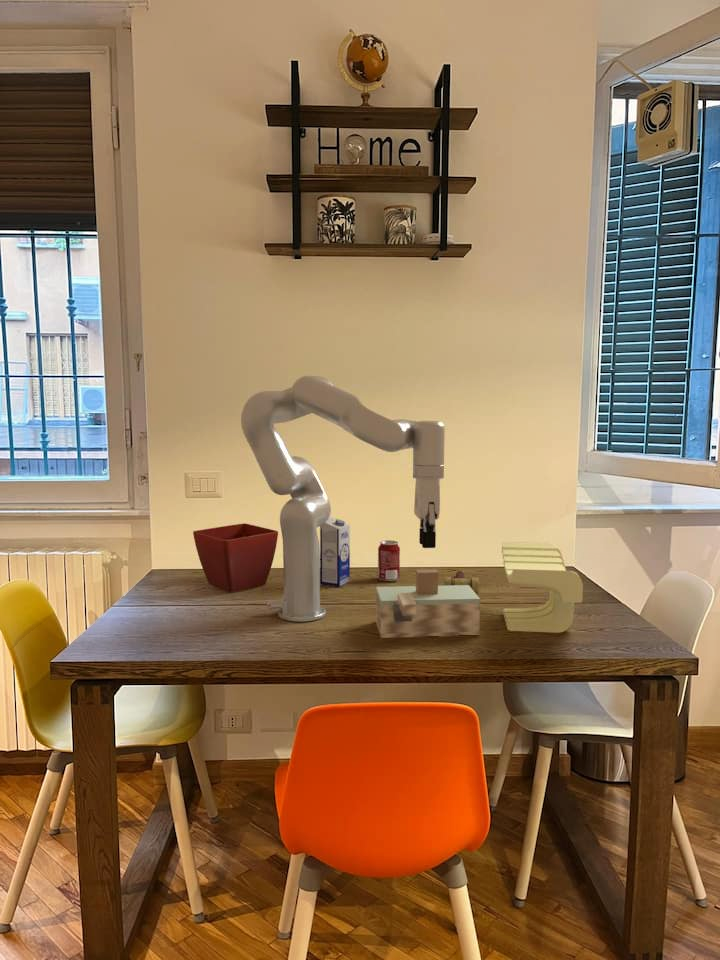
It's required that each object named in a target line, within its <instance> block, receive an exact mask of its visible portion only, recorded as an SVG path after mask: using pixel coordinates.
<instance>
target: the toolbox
mask: <svg viewBox="0 0 720 960" xmlns="http://www.w3.org/2000/svg"><path fill="white" fill-rule="evenodd" d="M375 600H376V602H375V603H376V605H375V606H376V607H375V622H376V626H377V629H378V632H379V635H380V638H381V639H388V638H389V639H392V638H393V639H394V638H428V637H427V636H439V637H459V636H458V635H479V636H480V625H481V624H480V619H481V618H480V617H481V615H480V614H481V603H480V604H437V605H416V615H408V616H403V615H402V612H401V610H400V608H399V605H398V600H397V601H394V605H391V606H381V604H380V601H379V598H378V595H377V592H376V591H375ZM453 635H454V636H453ZM425 636H426V637H425Z"/></svg>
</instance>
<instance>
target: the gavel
mask: <svg viewBox="0 0 720 960" xmlns="http://www.w3.org/2000/svg"><path fill="white" fill-rule="evenodd" d="M450 585H469V586H470V587H471V588H472V590H473V591H474V592H475V593H476V594H478V593H479V589H480V588H479V586H480V585H479V578H478V577H471V579H470V578H466V577H465V574H464V572H463V571H462V570H459V571H457V572H456V573H455V578H452V576H444V579H443V586H450Z"/></svg>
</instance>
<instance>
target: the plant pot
mask: <svg viewBox="0 0 720 960" xmlns="http://www.w3.org/2000/svg"><path fill="white" fill-rule="evenodd" d="M192 534H193V539H194V540H193V541H194V543H195V548H196V551H197V555H198V559H199V562H200V565H201V568H202V571H203V572H204V575H205V578H206V580H207V583H208V585H209V584H210V585H209V586H211V585H212V587H214V588H217V589H219V590H222V591H225V592H228V593H235V592H240V591H244V590H249V589H253V588H257V587H258V588H259V587H262V586H265V585H266V583H267V580H268V579H269V575H270V572H271V568H272V565H273V563H274V559H275V553H276V549H277V543H278V537H279V530H275V529H270V528H268V527H267V528H266V527H262V526H257V525H254V524H250V523H238V524H237V523H236V524H230V525H229V524H228V525H224V526H216V527H212V528H203V529H199V530H194V531H192Z"/></svg>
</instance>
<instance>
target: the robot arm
mask: <svg viewBox="0 0 720 960" xmlns="http://www.w3.org/2000/svg"><path fill="white" fill-rule="evenodd" d="M310 414H314V415H315V416H317V417H320V418H322V419H324V420H326V421H328V422H331V423H333V424H334V425H337V426H339V427H340V428H342V429H343V430H345V432H347V433H349V434H350V435H352V436H354V437H355V438H356V439H358V440H360V441H362V442H365V443H367V444H368V445H371V446H373V447H375V448H377V449H379V450H382V451H384V452H388V453H396V452H400V451H403V450H408V449H412V455H413V456H412V479H415V487H414V488H415V489H414V506H413V507H414V508H413V514H414V515H415V516H416V517H417V518H418V519H419V541H418V543H419V544H420V545H421V546H422V548H423V549H435V548H436V544H437V543H436V537H437V535H436V533H437V530H436V520H439V519H440V510H441V491H440V489H441V487H440V486H441V483H440V482H441V481H440V480H442V479H444V478H445V435H446V434H445V432H446V431H445V428H446V427H445V424H444V422H441V421H440V420H439V421H437V420H418V421H417V420H409V419H390V418H387V417H385V416H383V415H382V414H379V413H377V412H375V411H373V410H371V409H369V408H368V407H366V406H365V405H363V403H362V402H361V401H360V398H358V396H356V395H355V394H352V393H350V392H347V391H346V390H344V389H341V388H339V387H337V386H335V385H334V384H333V383H332V381H330V380H329V379H328V378H326V377H323V376H320V375H318V376H317V375H304V376H301V377H300V378H298V379H297V380H295V381H294V383H293V384H292V387H289V388H286V389H282V390H263V391H260V392H256V393H254V394H253V395H251V397H249V398H248V400H247V401H246V402H245V404H244V405H243V408H242V411H241V415H240V423H241V424H240V426H241V429H242V433H243V435H244V439H245V440H246V442H247V443H248V445H249V447H250V449H251V451H252V453H253V455H254V457H255V459H256V462H257V464H258V466H259V468H260V471H261V472H262V474H263V477H264V479H265V481H266V483H267V484H268V487H269V488H270V491H272V492H273V494H276V495H278V496H287V495H290V497H291V498H290V499H289V500H288V501H287V502H285V504H283V506H282V508H281V510H280V513H279V524H280V530H281V539H282V553H283V555H282V557H283V558H282V559H283V595H282V598H278V599H266V607H267V608H270V609H271V610H272V609H273V610H274V609H275V610H276V609H278V611H277V615H278V617H279V619H283V620H284V621H288V622H289V621H290V622H296V623H297V622H313V621H317V620H320V619H322V618H324V617H325V616H326V615H327V611H326V608H325V607H324V606H322V605H321V585H320V539H319V535H318V529H317V528H318V527H319V528H320V526H321V525H322V524H324V523H325V522H326V521H327V520H328V518H330V516H331V513H332V512H331V511H332V509H331V508H332V506H331V502H330V500H329V497H328V495H327V493H326V491H325V489H324V487H323V485H322V483H321V481H320V479H319V476H318V475H317V472H316V471H315V468H314V467H313V465H312V464H311V463H310V462H309V461H308V460H307V459H306V458H303V457H302V456H292V454H291V453H290V451H289V448H288V447H287V446H286V443H285V441H284V439H283V438H282V436H281V435H280V433H279V432H278V430H276V427H275V426H274V425H275V424H282V423H283V424H285V423H287V422H291V421H295V420H297V419H300V418H302V417H305V416H307V415H310Z"/></svg>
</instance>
